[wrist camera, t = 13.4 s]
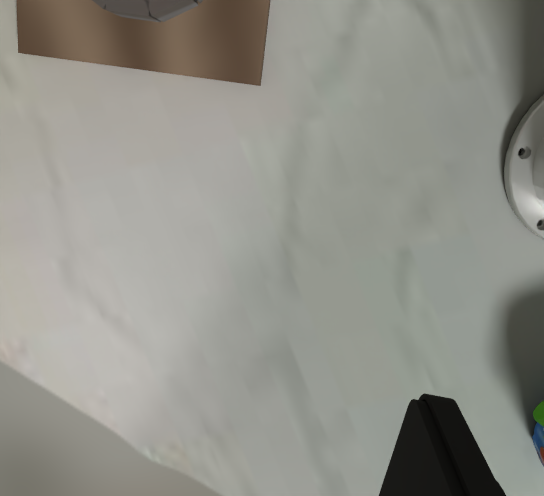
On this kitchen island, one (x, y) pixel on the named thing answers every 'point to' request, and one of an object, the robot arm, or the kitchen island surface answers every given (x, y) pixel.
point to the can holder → (151, 35)
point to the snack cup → (539, 431)
